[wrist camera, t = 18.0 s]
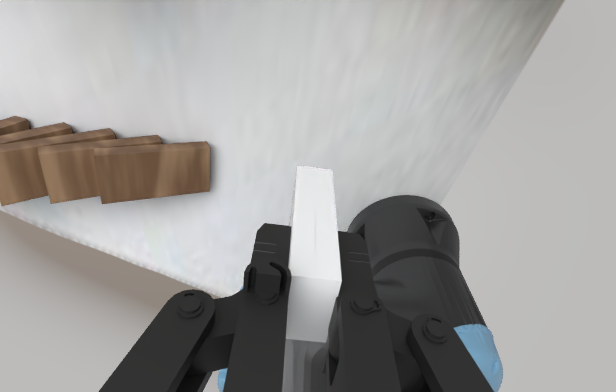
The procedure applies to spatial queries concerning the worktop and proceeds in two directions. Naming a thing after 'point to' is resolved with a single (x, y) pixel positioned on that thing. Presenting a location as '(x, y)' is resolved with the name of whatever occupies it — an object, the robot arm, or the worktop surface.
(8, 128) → the domino
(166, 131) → the worktop surface
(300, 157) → the worktop surface
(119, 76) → the worktop surface
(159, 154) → the loose domino
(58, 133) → the domino
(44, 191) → the domino
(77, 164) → the domino
